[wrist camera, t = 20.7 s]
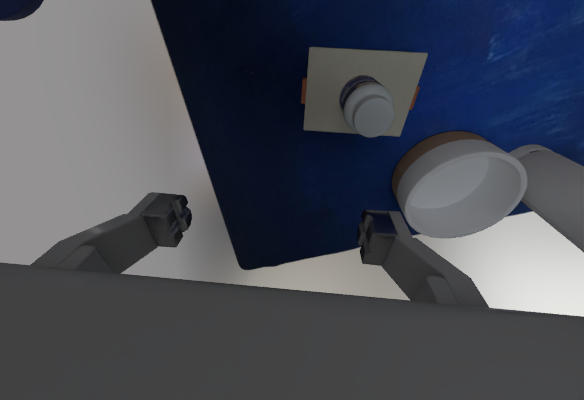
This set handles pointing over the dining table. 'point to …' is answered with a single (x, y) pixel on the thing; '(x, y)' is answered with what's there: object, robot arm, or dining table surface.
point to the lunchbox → (347, 64)
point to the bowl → (457, 184)
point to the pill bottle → (367, 106)
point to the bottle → (554, 190)
